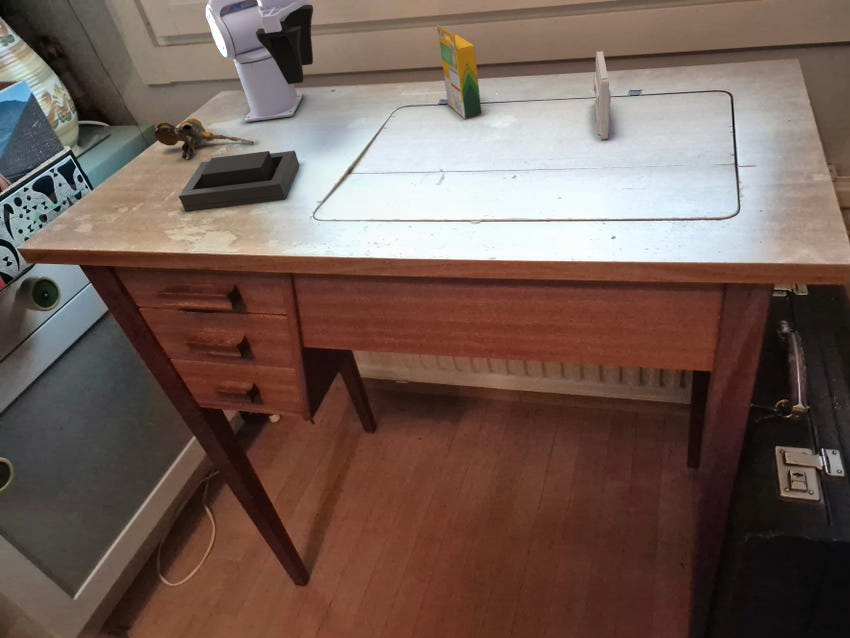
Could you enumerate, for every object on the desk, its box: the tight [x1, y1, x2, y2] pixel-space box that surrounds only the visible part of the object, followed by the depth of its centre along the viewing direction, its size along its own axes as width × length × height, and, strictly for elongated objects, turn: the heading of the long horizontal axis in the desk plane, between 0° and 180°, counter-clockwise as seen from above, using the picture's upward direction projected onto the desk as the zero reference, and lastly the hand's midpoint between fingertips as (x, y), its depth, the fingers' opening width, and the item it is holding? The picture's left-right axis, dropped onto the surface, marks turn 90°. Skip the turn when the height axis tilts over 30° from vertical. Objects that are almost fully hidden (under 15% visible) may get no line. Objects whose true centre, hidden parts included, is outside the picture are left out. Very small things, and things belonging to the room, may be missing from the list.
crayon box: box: [436, 24, 482, 120], centre depth 96 cm, size 7×3×12 cm, turn 23°
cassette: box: [593, 49, 612, 140], centre depth 88 cm, size 12×2×8 cm, turn 176°
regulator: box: [154, 118, 254, 160], centre depth 100 cm, size 8×4×15 cm
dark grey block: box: [201, 150, 276, 188], centre depth 87 cm, size 8×5×3 cm, turn 91°
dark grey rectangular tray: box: [178, 150, 300, 212], centre depth 88 cm, size 10×13×2 cm
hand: (300, 73), depth 92 cm, fingers open, 7 cm apart
